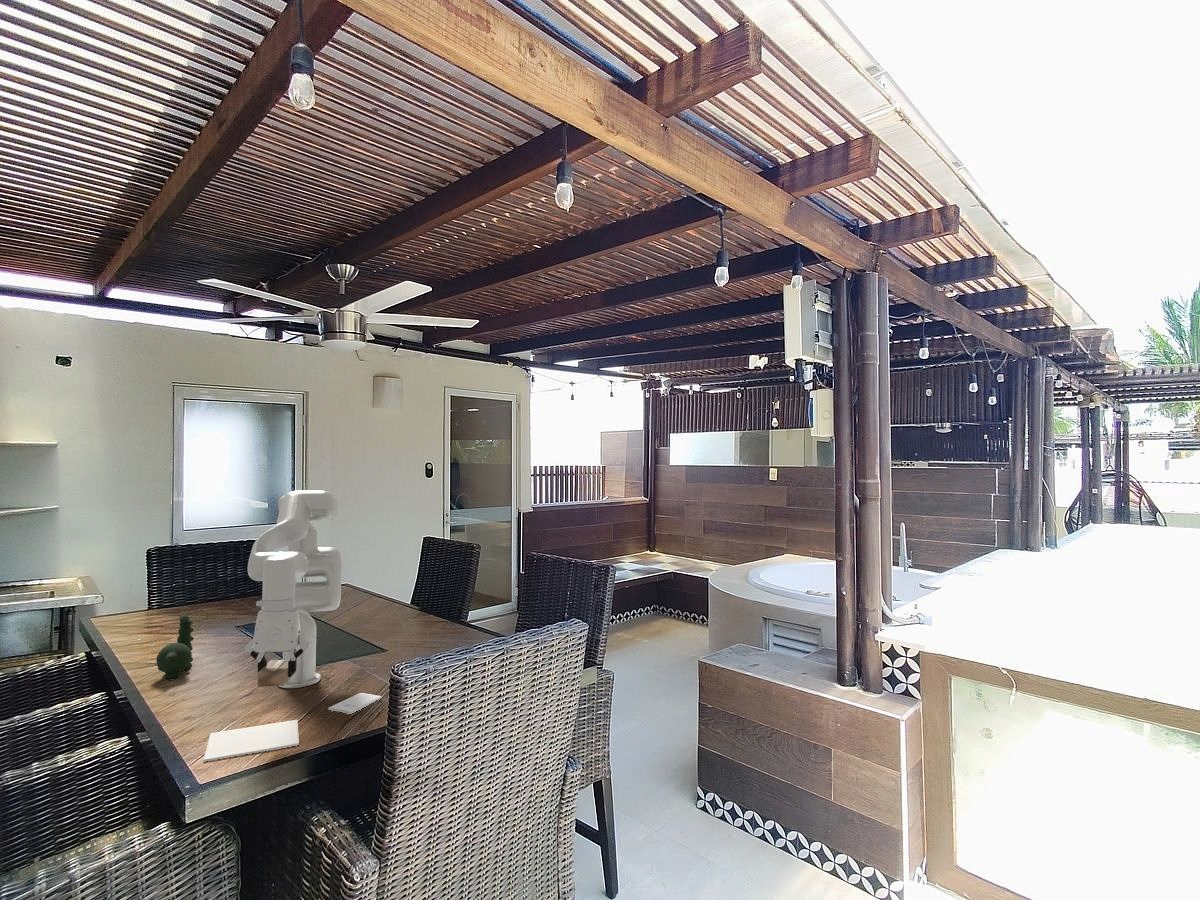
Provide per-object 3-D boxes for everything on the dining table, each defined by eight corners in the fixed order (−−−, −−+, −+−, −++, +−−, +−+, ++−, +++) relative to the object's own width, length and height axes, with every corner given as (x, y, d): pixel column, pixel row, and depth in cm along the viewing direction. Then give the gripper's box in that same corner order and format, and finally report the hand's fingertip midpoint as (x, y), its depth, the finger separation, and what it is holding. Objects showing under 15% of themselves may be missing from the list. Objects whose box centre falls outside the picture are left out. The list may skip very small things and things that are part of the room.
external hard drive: (381, 701, 185) (350, 717, 174) (359, 697, 188) (328, 712, 177) (381, 696, 185) (350, 711, 174) (360, 692, 188) (328, 706, 177)
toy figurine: (168, 669, 215) (149, 686, 192) (171, 613, 217) (152, 623, 194) (200, 666, 219) (185, 682, 196) (202, 611, 221) (188, 620, 198)
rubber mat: (210, 735, 160) (210, 733, 160) (297, 721, 169) (297, 719, 169) (203, 762, 145) (203, 759, 145) (298, 745, 154) (298, 743, 154)
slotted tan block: (257, 686, 154) (258, 671, 154) (270, 673, 164) (270, 659, 164) (283, 685, 155) (284, 670, 155) (295, 672, 165) (295, 658, 165)
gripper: (236, 609, 155) (234, 682, 154) (310, 607, 158) (309, 679, 157) (247, 602, 162) (245, 672, 162) (318, 600, 165) (316, 669, 165)
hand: (277, 675), depth 160 cm, fingers closed on slotted tan block, 6 cm apart
